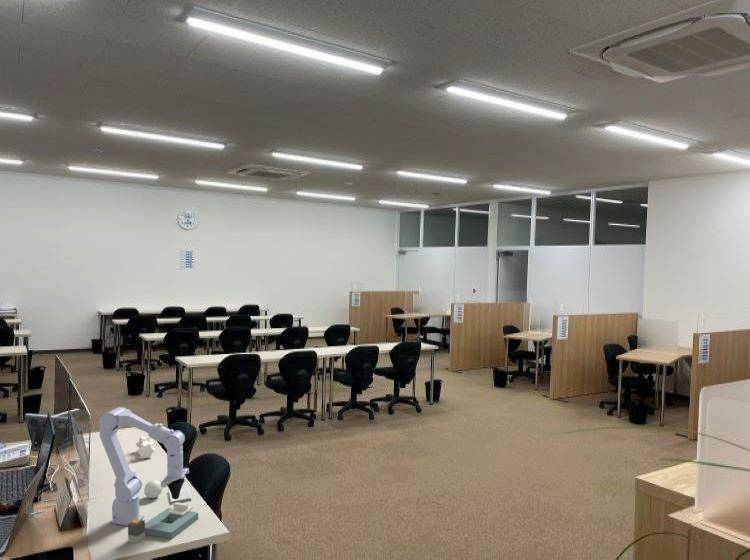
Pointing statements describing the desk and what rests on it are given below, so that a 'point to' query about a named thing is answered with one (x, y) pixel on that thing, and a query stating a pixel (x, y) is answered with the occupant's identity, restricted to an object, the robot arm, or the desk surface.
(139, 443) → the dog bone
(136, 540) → the plug
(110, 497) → the desk surface
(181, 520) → the socket board
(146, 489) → the white rounded ovoid
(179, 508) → the plate
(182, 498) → the hard drive
